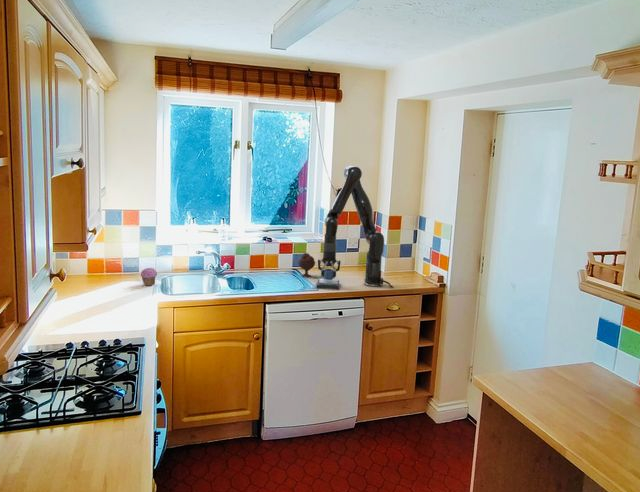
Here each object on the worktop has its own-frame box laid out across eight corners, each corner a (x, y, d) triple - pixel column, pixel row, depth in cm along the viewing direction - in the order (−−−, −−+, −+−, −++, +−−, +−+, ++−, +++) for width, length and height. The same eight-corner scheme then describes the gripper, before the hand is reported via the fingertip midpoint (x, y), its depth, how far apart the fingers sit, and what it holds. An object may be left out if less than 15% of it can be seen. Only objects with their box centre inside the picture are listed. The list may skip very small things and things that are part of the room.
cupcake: (160, 284, 272) (159, 267, 271) (150, 287, 264) (150, 270, 263) (147, 282, 275) (147, 265, 274) (137, 285, 267) (137, 268, 266)
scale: (339, 283, 286) (339, 279, 286) (338, 289, 274) (338, 284, 273) (318, 282, 288) (318, 278, 287) (316, 288, 275) (316, 283, 274)
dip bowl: (333, 277, 284) (334, 269, 283) (333, 280, 278) (333, 271, 277) (323, 277, 285) (323, 268, 284) (323, 279, 278) (323, 270, 278)
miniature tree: (295, 277, 299) (296, 254, 297) (301, 273, 309) (301, 251, 307) (311, 278, 296) (312, 255, 294) (316, 275, 306) (317, 252, 304)
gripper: (317, 250, 276) (316, 277, 278) (341, 251, 274) (340, 279, 277) (318, 248, 283) (316, 274, 285) (341, 249, 282) (340, 276, 284)
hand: (328, 276), depth 281 cm, fingers closed on dip bowl, 6 cm apart
